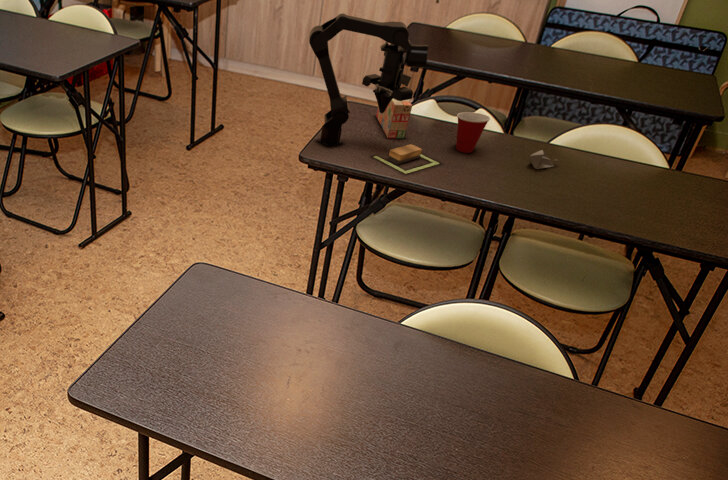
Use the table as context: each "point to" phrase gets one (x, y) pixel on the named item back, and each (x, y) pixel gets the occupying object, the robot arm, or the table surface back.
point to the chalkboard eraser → (404, 154)
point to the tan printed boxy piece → (395, 118)
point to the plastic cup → (469, 130)
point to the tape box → (410, 169)
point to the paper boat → (541, 160)
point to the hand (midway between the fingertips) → (381, 112)
